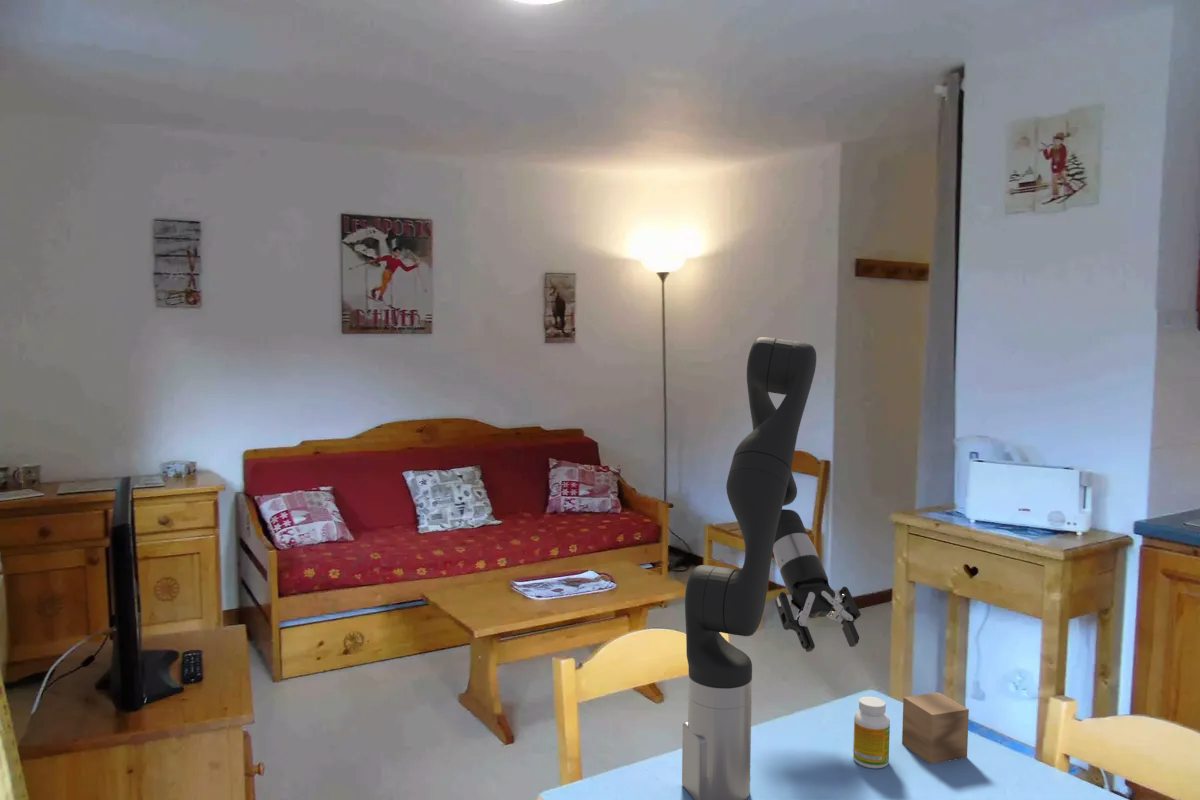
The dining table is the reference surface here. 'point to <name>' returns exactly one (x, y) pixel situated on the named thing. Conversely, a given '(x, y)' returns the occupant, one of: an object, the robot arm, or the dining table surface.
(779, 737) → the dining table surface
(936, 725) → the walnut block
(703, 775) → the robot arm
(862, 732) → the supplement bottle
